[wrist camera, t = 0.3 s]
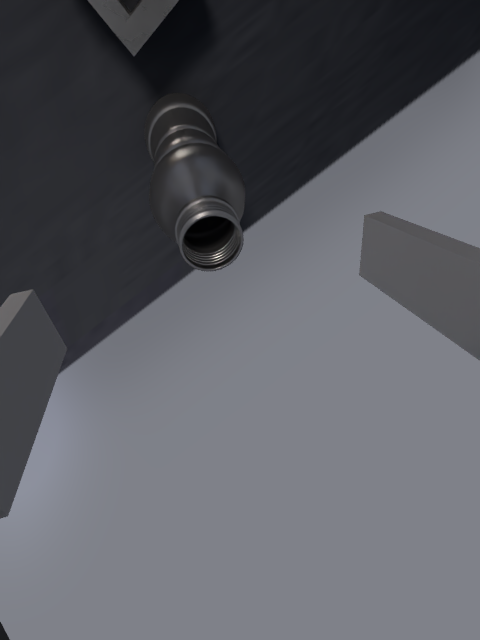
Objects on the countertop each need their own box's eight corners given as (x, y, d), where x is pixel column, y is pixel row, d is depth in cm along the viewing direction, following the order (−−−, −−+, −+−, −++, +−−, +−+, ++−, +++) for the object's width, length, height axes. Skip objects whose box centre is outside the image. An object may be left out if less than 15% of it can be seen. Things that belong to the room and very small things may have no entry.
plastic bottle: (220, 101, 29) (289, 199, 16) (201, 172, 34) (245, 296, 21) (149, 74, 27) (163, 166, 14) (139, 155, 31) (142, 284, 18)
